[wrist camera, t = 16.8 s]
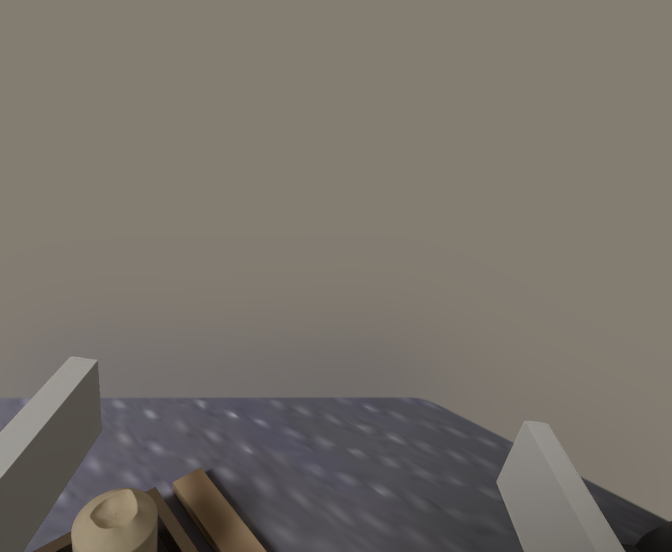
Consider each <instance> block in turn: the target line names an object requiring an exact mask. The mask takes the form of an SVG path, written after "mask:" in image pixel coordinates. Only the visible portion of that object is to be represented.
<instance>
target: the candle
mask: <svg viewBox="0 0 672 552" xmlns="http://www.w3.org/2000/svg"><path fill="white" fill-rule="evenodd" d="M157 524H158V512H157V507H156V504H155V502H154V500H153V499H152V498H151V497H150V496H149V495H148V494H147V493H145V492H143V491H141V490H138V489H133V488H120V489H115V490H111V491H108V492H105V493H103V494H101V495H99V496H97V497H96V498H94V499H93V500H91V501H90V502H89V503H87V504H86V505H85V506H84V507H83V508H82V510H81V511H80V512H79V513H78V515H77V517H76V518H75V520H74V523H73V526H72V530H71V539H72V549H73V552H157Z"/></svg>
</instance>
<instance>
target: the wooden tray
mask: <svg viewBox="0 0 672 552" xmlns="http://www.w3.org/2000/svg"><path fill="white" fill-rule="evenodd" d="M145 493H147V494H148V495H149V496H150V497H151V498H152V499H153V500H154V502H155V504H156V507H157V512H158V524H157V532H158V534H159V535H160V537H161V539H162V540H163V542H164V544H165V545H166V547H167V548H168V550H169V552H198V550H197V549H196V547H195V546H194V544H193V543H192V541H191V540H190V538H189V537H188V535H187V534H186V532H185V531H184V529H183V528H182V526H181V525H180V523H179V522H178V520H177V519H176V517H175V516H174V514H173V513H172V511H171V510H170V508H169V507H168V505H167V504H166V502H165V501H164V499H163V498H162V496H161V495H160V493H159V492H158V490H157V489H156V487H155V488H153V489H151V490H149V491H147V492H145ZM33 552H73V549H72V539H71V532H69V533H67V534H65V535H63V536H62V537H60V538H58V539H56V540H54V541H52V542H50V543H48V544H46V545H44V546H42V547H41V548H39V549H37V550H35V551H33Z"/></svg>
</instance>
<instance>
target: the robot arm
mask: <svg viewBox="0 0 672 552" xmlns="http://www.w3.org/2000/svg"><path fill="white" fill-rule="evenodd" d="M98 373H99V372H98V360H93V359H86V358H79V357H72V356H71V357H70V358H69V359H68V360H67V361H66V362H65V363H64V364H63V365H62V366H61V368H60V369H59V370H58V371H57V372H56V373H55V374H54V375H53V376H52V377H51V378H50V379H49V381H48V382H47V383H46V384H45V385H44V386H43V387H42V388H41V389H40V390H39V391H38V392H37V393H36V394H35V396H34V397H33V398H32V399H31V400H30V401H29V402H28V403H27V404H26V405H25V406H24V407H23V408H22V410H21V411H20V412H19V413H18V414H17V415H16V416H15V417H14V418H13V419H12V420H11V421H10V422H9V424H8V425H7V426H6V427H5V428H4V429H3V430H2V431H1V432H0V552H23V551H24V550H25V548H26V547H27V545H28V544H29V542H30V541H31V539H32V537H33V536H34V534H35V533H36V531H37V530H38V528H39V527H40V525H41V524H42V522H43V521H44V519H45V517H46V516H47V514H48V513H49V511H50V510H51V508H52V507H53V505H54V504H55V502H56V501H57V499H58V497H59V496H60V494H61V493H62V491H63V490H64V488H65V487H66V485H67V484H68V482H69V480H70V479H71V477H72V476H73V474H74V473H75V471H76V470H77V468H78V467H79V465H80V464H81V462H82V460H83V459H84V457H85V456H86V454H87V453H88V451H89V450H90V448H91V447H92V445H93V444H94V442H95V440H96V439H97V437H98V436H99V434H100V433H101V431H102V426H101V408H100V391H99V374H98ZM496 482H497V485H498V487H499V490H500V492H501V495H502V497H503V500H504V503H505V505H506V508H507V510H508V513H509V515H510V518H511V520H512V523H513V525H514V528H515V530H516V533H517V535H518V538H519V541H520V543H521V546H522V548H523V551H524V552H672V521H671V522H669V523H667V524H665V525H663V526H661V527H659V528H656V529H654V530H652V531H650V532H648V533H647V534H645V535H644V536H643V537H642V538H641V539H640V540H639V542H638V543H637V544H636V546H632V545H624V544H621V543H620V542H619V540H618V539H617V537H616V535H615V534H614V532H613V530H612V529H611V527H610V525H609V524H608V522H607V520H606V519H605V517H604V515H603V514H602V512H601V510H600V509H599V507H598V506H597V504H596V502H595V501H594V499H593V497H592V496H591V494H590V492H589V491H588V489H587V487H586V486H585V484H584V482H583V481H582V479H581V477H580V476H579V474H578V473H577V471H576V469H575V468H574V466H573V464H572V463H571V461H570V459H569V458H568V456H567V454H566V453H565V451H564V449H563V448H562V447H561V445H560V443H559V441H558V440H557V438H556V436H555V435H554V433H553V431H552V430H551V428H550V426H549V425H548V424H547V423H541V422H534V421H527V420H525V421H524V423H523V425H522V427H521V429H520V431H519V434H518V436H517V438H516V440H515V442H514V444H513V447H512V449H511V451H510V453H509V455H508V457H507V460H506V462H505V464H504V466H503V468H502V470H501V473H500V475H499V477H498V479H497V481H496Z"/></svg>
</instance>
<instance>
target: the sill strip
mask: <svg viewBox="0 0 672 552" xmlns="http://www.w3.org/2000/svg"><path fill="white" fill-rule="evenodd" d="M173 492H174V494H175V495H176V497H177V498H178V499H179V501H180V502H181V504H182V505H183V507H184V508H185V510H186V511H187V512H188V514H189V515H190V517H191V518H192V520H193V521H194V523H195V524H196V525H197V527H198V528H199V530H200V531H201V533H202V534H203V535H204V537H205V538H206V540H207V541H208V543H209V544H210V546H211V547H212V548H213V550H214V551H215V552H266V550H265V549H264V548H263V547H262V545H261V544H260V543H259V541H258V540H257V539H256V538H255V536H254V535H253V534H252V532H251V531H250V530H249V529H248V527H247V526H246V525H245V524H244V522H243V521H242V520H241V518H240V517H239V516H238V515H237V513H236V512H235V511H234V509H233V508H232V507H231V506H230V504H229V503H228V502H227V501H226V499H225V498H224V497H223V495H222V494H221V493H220V492H219V490H218V489H217V488H216V486H215V485H214V484H213V483H212V481H211V480H210V479H209V478H208V476H207V475H206V474H205V472H204V471H203V470H202V469H201V468H199V469H197V470H195V471H193V472H191V473H190V474H188V475H186V476H184V477H182V478H180V479H178V480H176V481H175V482H173Z"/></svg>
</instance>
